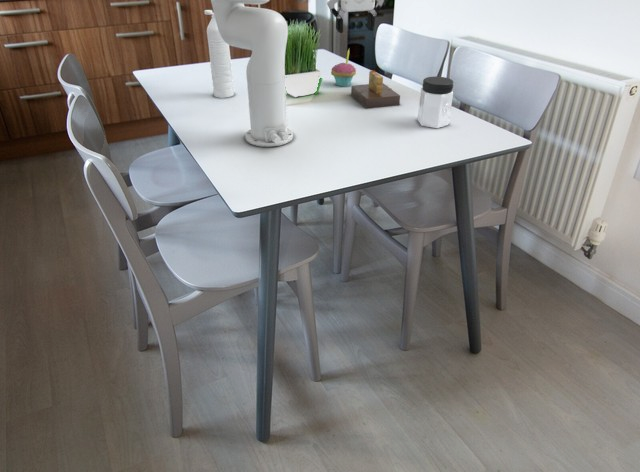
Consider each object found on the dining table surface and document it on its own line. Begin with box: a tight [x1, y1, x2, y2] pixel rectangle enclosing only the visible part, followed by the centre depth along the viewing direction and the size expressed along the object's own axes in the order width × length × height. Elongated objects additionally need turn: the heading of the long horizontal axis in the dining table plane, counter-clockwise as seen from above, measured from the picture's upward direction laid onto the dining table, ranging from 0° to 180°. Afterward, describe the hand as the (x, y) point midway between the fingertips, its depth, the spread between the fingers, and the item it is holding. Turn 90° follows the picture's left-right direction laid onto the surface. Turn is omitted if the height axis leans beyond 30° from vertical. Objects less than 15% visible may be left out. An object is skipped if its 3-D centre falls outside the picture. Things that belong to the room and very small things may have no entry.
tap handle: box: [368, 70, 384, 94], centre depth 157 cm, size 7×2×5 cm, turn 17°
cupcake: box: [330, 47, 357, 87], centre depth 171 cm, size 9×8×12 cm
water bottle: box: [203, 9, 235, 99], centre depth 158 cm, size 9×6×25 cm
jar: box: [417, 76, 454, 129], centre depth 139 cm, size 9×8×12 cm
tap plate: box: [350, 83, 401, 109], centre depth 159 cm, size 14×11×3 cm
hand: (355, 31), depth 150 cm, fingers open, 9 cm apart
